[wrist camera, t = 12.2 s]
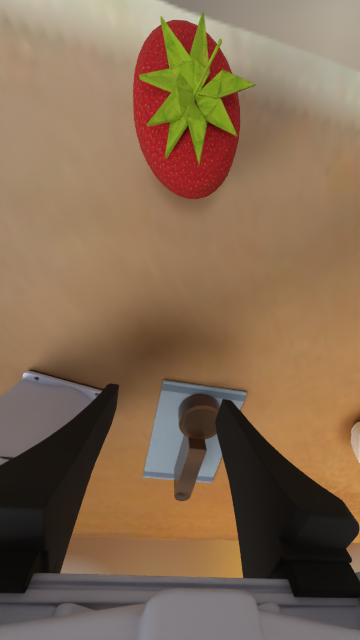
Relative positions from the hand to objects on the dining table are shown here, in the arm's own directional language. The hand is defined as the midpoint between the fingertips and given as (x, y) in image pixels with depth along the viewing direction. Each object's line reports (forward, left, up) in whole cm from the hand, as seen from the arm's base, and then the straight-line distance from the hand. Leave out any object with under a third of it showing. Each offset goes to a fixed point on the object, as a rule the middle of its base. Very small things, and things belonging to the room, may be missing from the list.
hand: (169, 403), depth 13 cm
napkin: (+8, -13, -9) cm, 18 cm away
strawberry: (-5, +16, -10) cm, 19 cm away
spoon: (+8, -13, -9) cm, 18 cm away
